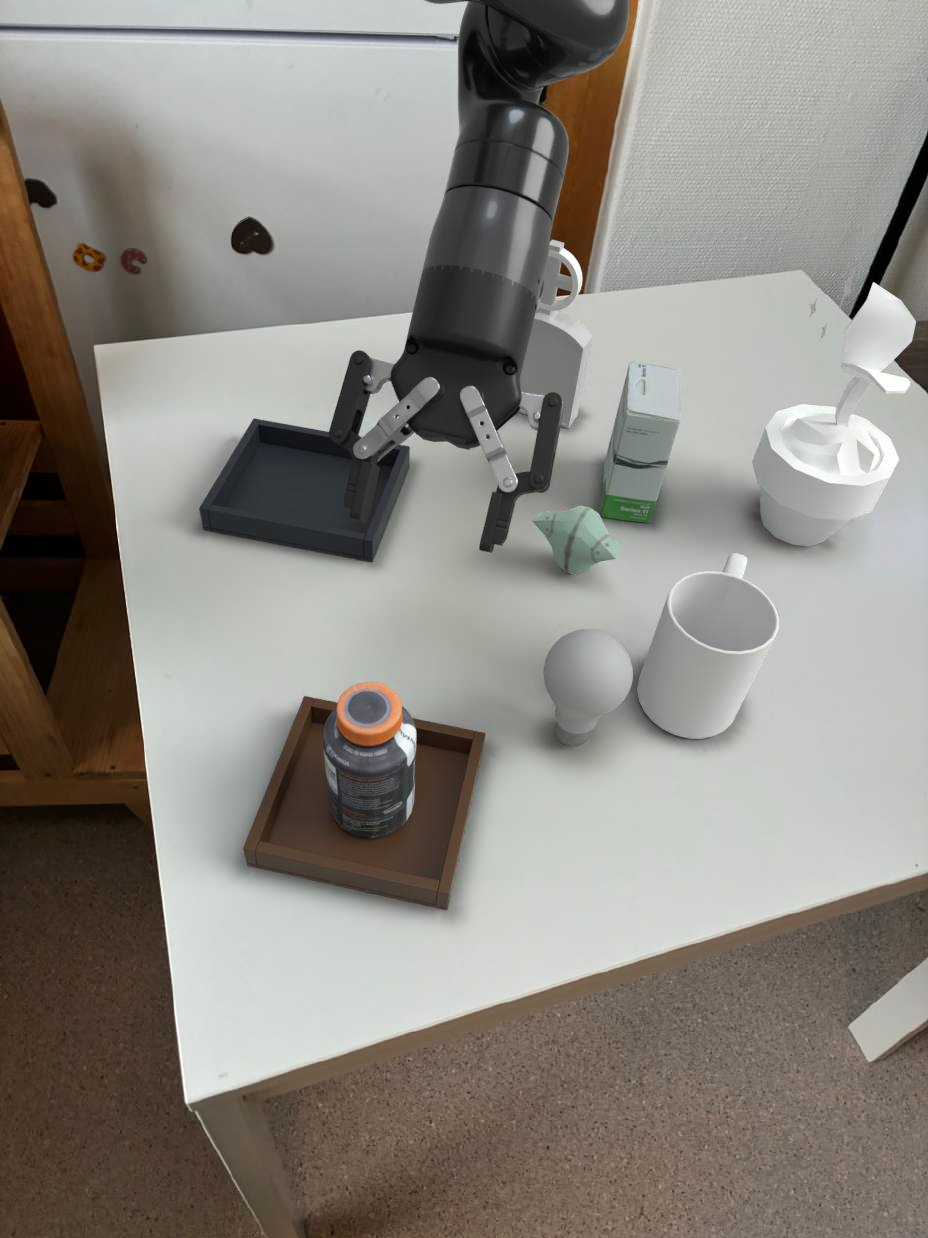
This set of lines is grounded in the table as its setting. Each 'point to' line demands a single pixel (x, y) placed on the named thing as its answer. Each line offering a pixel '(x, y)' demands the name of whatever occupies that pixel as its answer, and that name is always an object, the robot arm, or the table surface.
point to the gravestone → (557, 339)
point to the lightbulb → (585, 681)
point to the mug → (706, 651)
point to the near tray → (389, 865)
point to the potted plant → (835, 435)
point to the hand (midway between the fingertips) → (421, 536)
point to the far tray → (300, 492)
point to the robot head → (577, 538)
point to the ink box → (641, 442)
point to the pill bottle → (370, 761)
